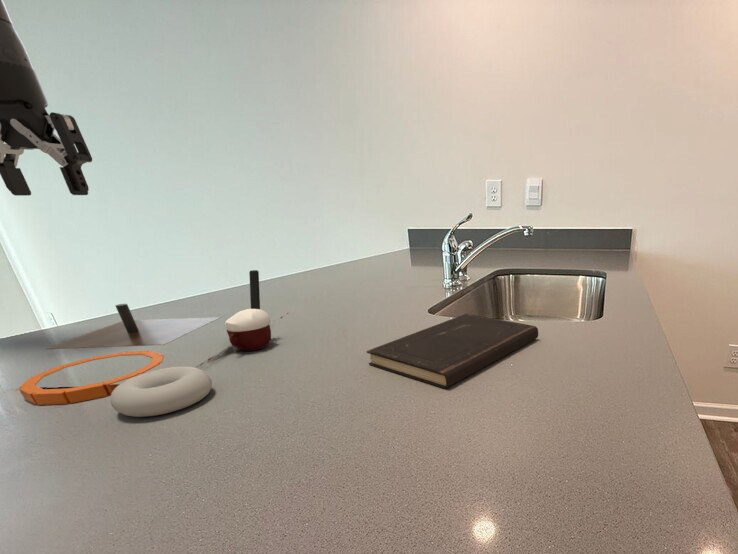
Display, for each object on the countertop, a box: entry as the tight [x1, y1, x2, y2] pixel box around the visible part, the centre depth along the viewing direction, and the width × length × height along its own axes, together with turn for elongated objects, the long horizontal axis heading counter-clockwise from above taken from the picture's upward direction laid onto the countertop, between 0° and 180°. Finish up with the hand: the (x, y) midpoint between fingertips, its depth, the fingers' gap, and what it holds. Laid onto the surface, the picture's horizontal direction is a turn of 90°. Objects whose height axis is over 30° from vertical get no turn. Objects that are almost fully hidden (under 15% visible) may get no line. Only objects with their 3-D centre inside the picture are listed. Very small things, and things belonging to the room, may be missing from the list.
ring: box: [18, 350, 165, 406], centre depth 58 cm, size 15×15×2 cm
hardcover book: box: [366, 313, 539, 389], centre depth 65 cm, size 16×23×2 cm
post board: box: [45, 303, 222, 350], centre depth 73 cm, size 19×16×6 cm
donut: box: [110, 366, 213, 418], centre depth 51 cm, size 10×4×10 cm
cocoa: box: [224, 269, 272, 352], centre depth 67 cm, size 10×6×12 cm, turn 153°
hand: (51, 195), depth 61 cm, fingers open, 8 cm apart
